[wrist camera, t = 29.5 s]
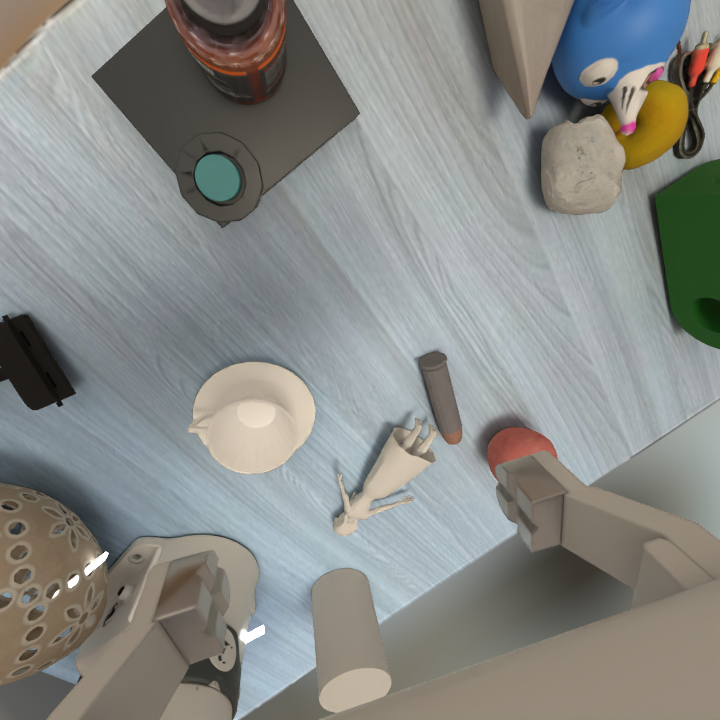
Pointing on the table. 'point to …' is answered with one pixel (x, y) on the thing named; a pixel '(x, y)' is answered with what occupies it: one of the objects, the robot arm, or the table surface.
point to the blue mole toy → (617, 51)
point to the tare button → (218, 178)
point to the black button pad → (226, 111)
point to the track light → (31, 364)
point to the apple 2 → (652, 124)
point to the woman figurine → (387, 476)
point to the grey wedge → (523, 44)
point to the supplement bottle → (235, 43)
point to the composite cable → (696, 89)
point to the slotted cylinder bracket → (693, 250)
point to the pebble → (581, 166)
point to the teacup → (253, 416)
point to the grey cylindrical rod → (442, 396)
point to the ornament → (45, 582)
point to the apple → (516, 446)
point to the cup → (347, 641)
